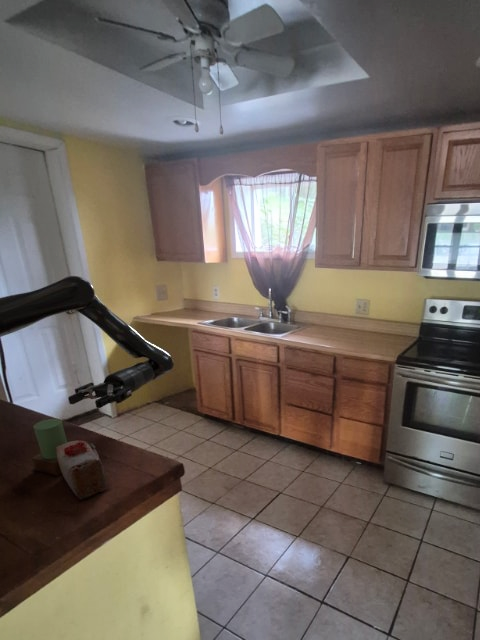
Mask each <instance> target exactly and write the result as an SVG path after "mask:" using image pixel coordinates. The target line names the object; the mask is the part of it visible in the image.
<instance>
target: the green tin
mask: <svg viewBox="0 0 480 640" xmlns="http://www.w3.org/2000/svg"><path fill="white" fill-rule="evenodd" d="M33 430H34V433H35V437H36V440H37V443H38V447H39V449H40V453H42V456H43V458H45V459H55V458H57V451H56V447H58V446H61V445H63V444H65V443H67V442H68V440H67V436H66V432H65V429H64V425H63V422H62V420H61V419H60V418H48V419H43V420H40V421H38V422H36V423H35V424H33Z"/></svg>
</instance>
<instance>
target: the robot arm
mask: <svg viewBox="0 0 480 640" xmlns="http://www.w3.org/2000/svg"><path fill="white" fill-rule="evenodd" d="M70 311H77V312H78V313H79V314H81V315H83V316H84V317H86V318H87V319H88V320H90V321H91V322H92V323H94V324H95V325H96V326H97V327H98V328H99V329H101V330H102V331H103V333H105V334H106V335H107V336H108V337H109V338H110V339H111V340H112V341H113V342H115V344H117V346H119V347H120V348H121V349H122V350H123V351H125V352H126V353H127V354H129V356H130V357H131V358H133V359H141V358H146V359H145V360H144V361H140V362H136V363H134V364H132V365H130V366H126V367H124V368H121V369H119V370H117V371H115V372H113V373H110V374H108V375H106V377H104V380H103V382H100V383H98V384H94V382H89V383H86V384H83V385H81V386H79V387H77V388H74V392H75V393H73V394H71V395H69V396H68V403H69V405H75V404H77V403H79V402H81V401H83V400H87V399H90V400H95V401H94V403H95V407H96V409H101V408H103V407H105V406H107V405H108V404H113V403H116V404H121V403H123V402H124V401H125V400H127V399H129V398H131V397H132V394H133V393H135V392H136V391H138V390H139V389H140V388H142V387H143V386H146V385H147V384H148V383H149V384H150V382H152V381H155V380H157V379H159V378H160V377H162V376H163V375H165V374H166V373H169V372H170V371H172V370H173V368H174V367H175V361H174V359H173V357H172V355H171V354H170V353H168V352H167V351H166V350H164V349H162V348H161V347H159V346H157V345H155V344H154V343H152V342H149V341H148V340H147V339H146V338H144V336H142V335H141V334H140V332H138V331H136V330H135V329H134V327H132V326H130V324H128V323H127V322H126V321H124V320H123V319H122V318H120V317H119V316H118V315H116V314H115V313H114V312H112V310H111V309H110V308H109V307H107V305H105V304H104V303H103V302H102V300H100V298H99V297H98V296H97V295H96V292H95V289H94V286H93V285H92V284H91V282H90V281H89V280H87V279H85V278H84V277H82V276H79V275H68V276H66V277H63V278H61V279H60V280H58V281H55V282H53V283H51V284H48V285H46V286H43V287H41V288H39V289H35V290H31V291H26V292H23V293H22V292H21V293H16V294H10V295H7V296H2V297H0V338H2V337H4V336H7V335H10V334H13V333H16V332H18V331H20V330H22V329H25V328H27V327H30V326H32V325H34V324H36V323H38V322H40V321H43V320H44V319H47V318H49V317H52V316H55V315H59V314H63V313H67V312H70ZM93 393H94V395H93Z"/></svg>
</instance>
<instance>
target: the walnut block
mask: <svg viewBox="0 0 480 640" xmlns="http://www.w3.org/2000/svg"><path fill="white" fill-rule="evenodd" d="M31 459H32V462H33V465H34V468H35V471H39V472H42V473H47V474H50V475H54V476H60V475H61V474H62V472H61V469H60V466H59V463H58V459H57V458H55V459H45V458H43V456H42V453H41V452H40V453H39V454H37V455H34V456H32V458H31Z"/></svg>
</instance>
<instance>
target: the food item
mask: <svg viewBox="0 0 480 640" xmlns="http://www.w3.org/2000/svg"><path fill="white" fill-rule="evenodd" d="M96 448H97V447H96V446H95V445H94V444H93V443H89V442H87V440H72V441H67V443H65V444H63V445H61V446H58V447H56V451H57V459H58V463H59V466H60V469H61V472H62V473H61V474H62V476H63V479H64V480H65V482H66V483H67V485H68V487H69V488H70V489H71V491H72V493H74V495H75V496H76V497H77V498H78V499H79V500H82V499H86V498H89V497H91V496H93V495H96V494H98V493H102V492H104V491H105V490H107V487H108V482H107V479H106V478H107V477H106V474H105V470H104V466H103V463H102V460H101V458H100V456H99V453H98V452H97V450H96Z"/></svg>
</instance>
